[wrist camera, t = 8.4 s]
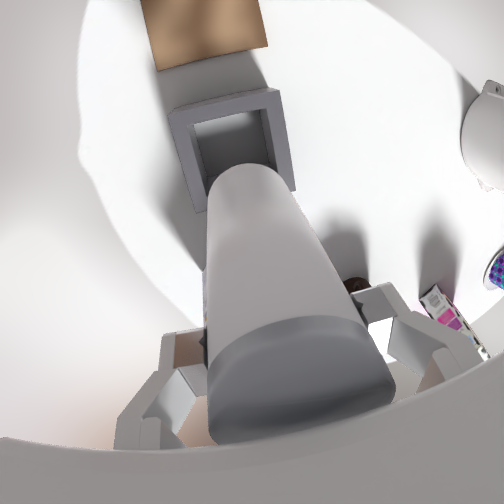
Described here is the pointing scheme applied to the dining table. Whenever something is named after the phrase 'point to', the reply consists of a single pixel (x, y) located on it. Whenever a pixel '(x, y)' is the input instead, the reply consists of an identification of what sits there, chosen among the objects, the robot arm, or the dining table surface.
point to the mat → (201, 29)
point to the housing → (221, 107)
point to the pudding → (495, 273)
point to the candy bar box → (449, 316)
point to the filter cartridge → (279, 318)
